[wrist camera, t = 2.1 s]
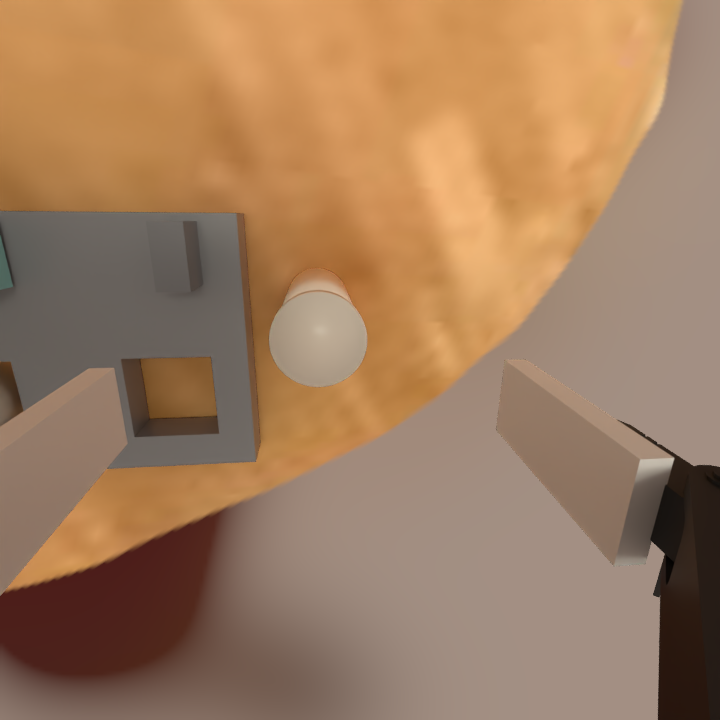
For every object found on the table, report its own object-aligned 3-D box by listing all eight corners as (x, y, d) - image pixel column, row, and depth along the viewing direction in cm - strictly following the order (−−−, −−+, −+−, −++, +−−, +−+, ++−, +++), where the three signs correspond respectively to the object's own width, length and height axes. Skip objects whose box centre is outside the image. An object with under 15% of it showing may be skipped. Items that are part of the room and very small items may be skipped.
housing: (-137, 210, 27) (-255, 208, 22) (243, 213, 30) (227, 212, 24) (-55, 455, 33) (-131, 504, 27) (260, 442, 35) (250, 484, 30)
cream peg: (283, 266, 31) (266, 293, 20) (349, 265, 32) (368, 292, 20) (286, 329, 33) (271, 388, 21) (349, 328, 33) (366, 385, 22)
